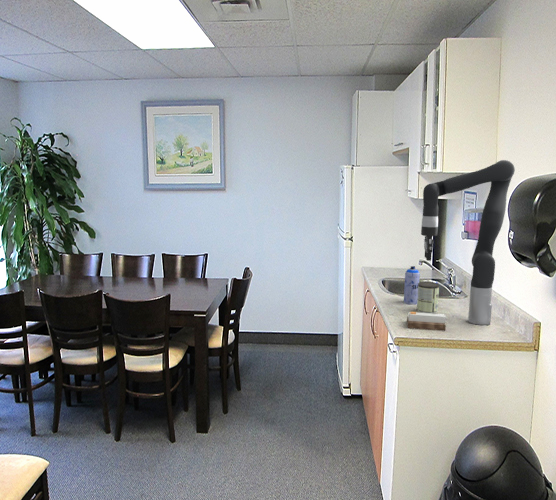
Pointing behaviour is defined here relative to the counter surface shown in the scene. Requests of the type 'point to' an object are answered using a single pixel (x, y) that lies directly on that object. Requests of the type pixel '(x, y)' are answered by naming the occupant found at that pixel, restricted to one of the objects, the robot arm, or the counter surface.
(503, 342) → the counter surface
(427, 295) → the coffee can
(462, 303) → the counter surface
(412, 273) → the aerosol can
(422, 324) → the mounting board
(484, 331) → the counter surface
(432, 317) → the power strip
